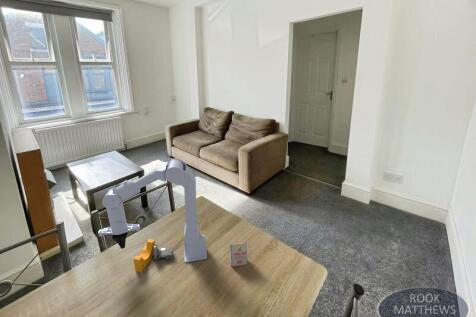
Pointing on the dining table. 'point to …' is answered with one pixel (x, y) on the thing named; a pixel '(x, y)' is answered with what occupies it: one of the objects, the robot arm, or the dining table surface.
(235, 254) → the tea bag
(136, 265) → the pipe clamp
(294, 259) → the dining table surface
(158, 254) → the pipe fixture
